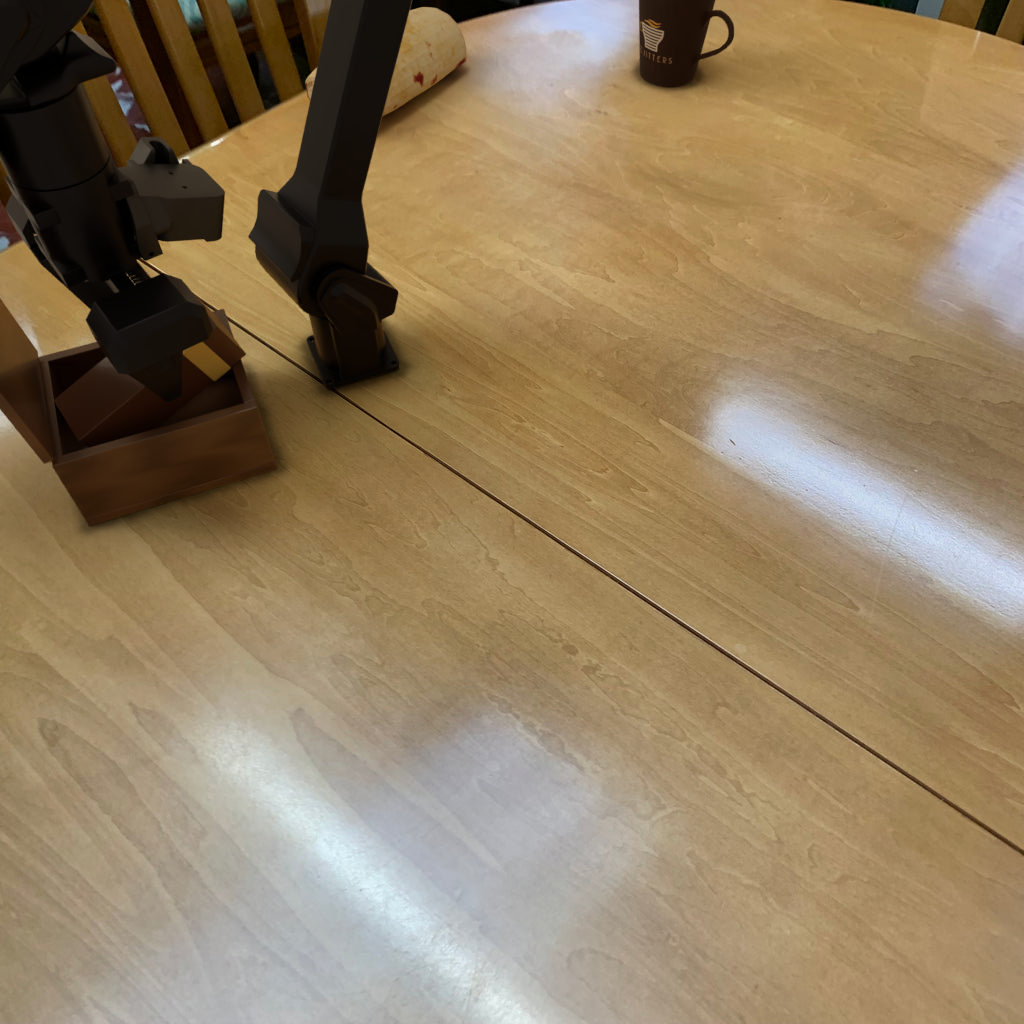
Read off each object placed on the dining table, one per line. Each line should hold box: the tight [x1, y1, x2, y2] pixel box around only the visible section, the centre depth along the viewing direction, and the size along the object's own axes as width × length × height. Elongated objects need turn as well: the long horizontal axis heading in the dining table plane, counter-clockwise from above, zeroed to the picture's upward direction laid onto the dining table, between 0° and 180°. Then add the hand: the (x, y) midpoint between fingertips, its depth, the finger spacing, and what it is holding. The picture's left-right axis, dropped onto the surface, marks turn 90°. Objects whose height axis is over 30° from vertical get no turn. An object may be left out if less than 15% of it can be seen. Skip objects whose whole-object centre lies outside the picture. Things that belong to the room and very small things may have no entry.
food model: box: [304, 6, 468, 117], centre depth 102 cm, size 10×7×20 cm
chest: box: [38, 308, 278, 527], centre depth 70 cm, size 14×12×7 cm
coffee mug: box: [638, 0, 735, 88], centre depth 102 cm, size 12×9×10 cm
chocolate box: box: [54, 294, 247, 448], centre depth 67 cm, size 4×5×12 cm
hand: (146, 361), depth 66 cm, fingers open, 9 cm apart
